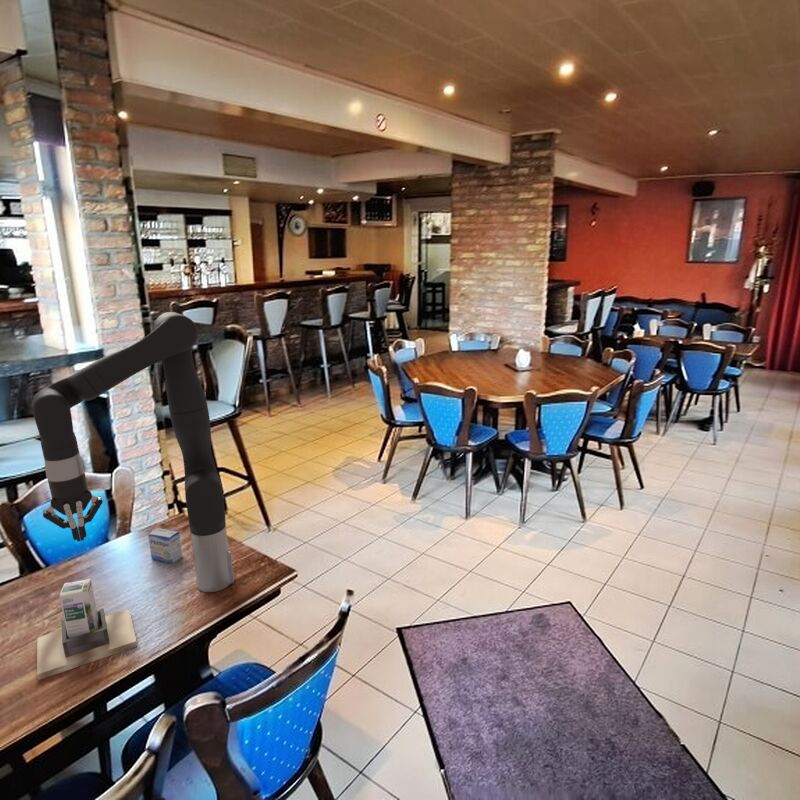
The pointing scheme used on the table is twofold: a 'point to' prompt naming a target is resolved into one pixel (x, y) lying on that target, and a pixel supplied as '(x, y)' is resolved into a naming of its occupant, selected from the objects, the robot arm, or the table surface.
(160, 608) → the table surface
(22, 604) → the table surface
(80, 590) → the syrup box
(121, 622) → the socket stand
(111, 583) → the table surface
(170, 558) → the medicine box
